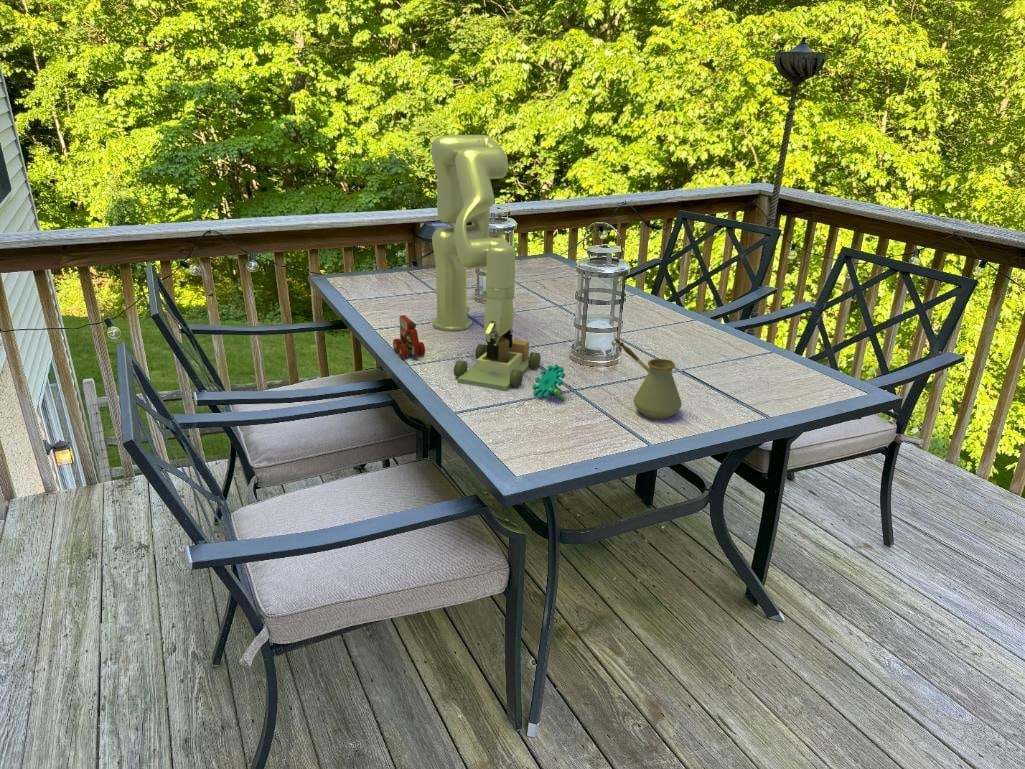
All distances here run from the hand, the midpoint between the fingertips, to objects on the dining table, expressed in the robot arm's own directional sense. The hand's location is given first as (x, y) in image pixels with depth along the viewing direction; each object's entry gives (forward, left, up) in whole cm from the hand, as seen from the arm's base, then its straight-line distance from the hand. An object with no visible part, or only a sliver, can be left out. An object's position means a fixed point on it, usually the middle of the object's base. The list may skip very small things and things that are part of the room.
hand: (499, 352), depth 200 cm
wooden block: (0, 0, -4) cm, 4 cm away
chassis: (+1, 0, -5) cm, 5 cm away
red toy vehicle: (-2, -29, -6) cm, 30 cm away
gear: (+10, +18, -6) cm, 21 cm away
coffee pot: (+7, +41, -6) cm, 42 cm away
